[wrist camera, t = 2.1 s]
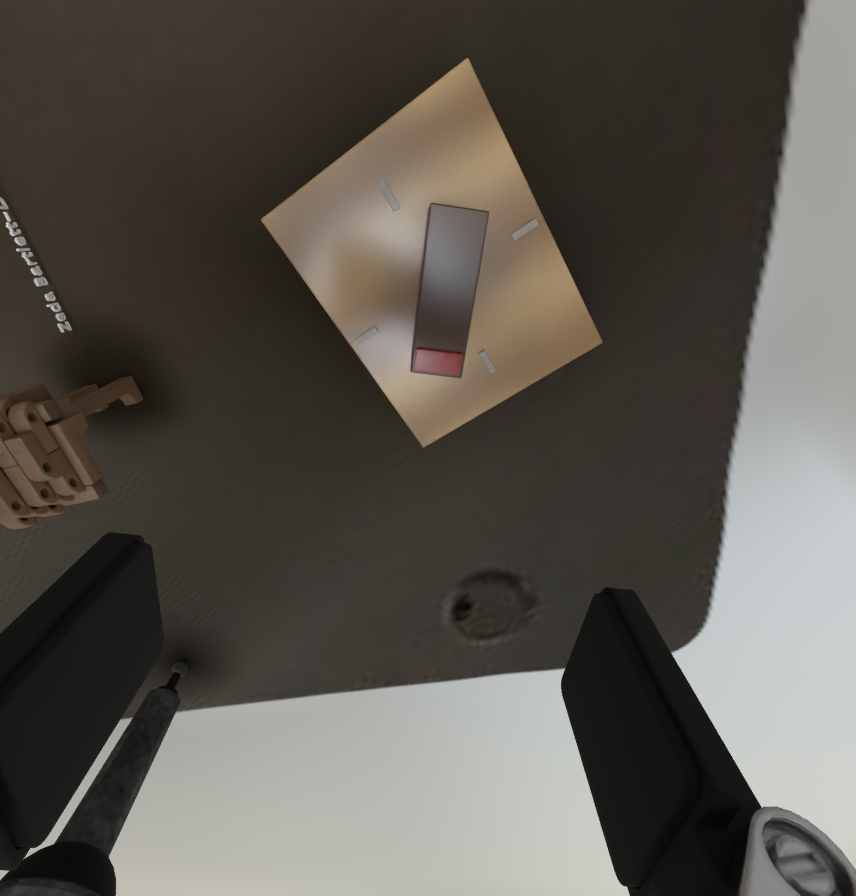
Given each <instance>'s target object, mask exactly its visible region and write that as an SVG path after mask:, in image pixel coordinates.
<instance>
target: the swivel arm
mask: <svg viewBox="0 0 856 896" xmlns="http://www.w3.org/2000/svg"><path fill="white" fill-rule="evenodd" d="M488 217H489V212H488V211H484V210H477V209H471V208H464V207H457V206H451V205H444V204H437V203H431V204H430V206H429V208H428V212H427V221H426V230H425V238H424V247H423V255H422V264H421V272H420V281H419V290H418V298H417V307H416V315H415V324H414V332H413V341H412V352H411V370H410V371H411V372H412V373H420V374H428V375H437V376H445V377H453V378H461V377H462V373H463V367H464V361H465V355H466V349H467V343H468V337H469V331H470V325H471V319H472V313H473V307H474V301H475V295H476V289H477V283H478V277H479V271H480V265H481V259H482V253H483V247H484V241H485V235H486V229H487V223H488Z"/></svg>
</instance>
